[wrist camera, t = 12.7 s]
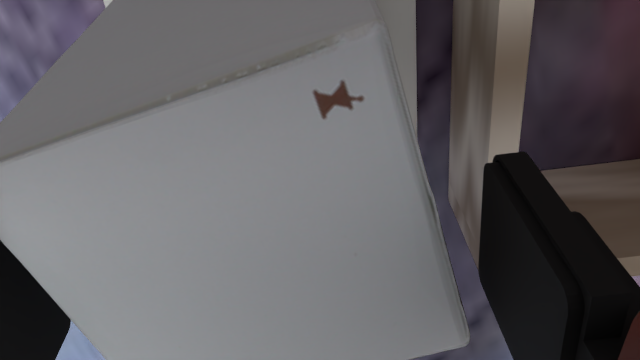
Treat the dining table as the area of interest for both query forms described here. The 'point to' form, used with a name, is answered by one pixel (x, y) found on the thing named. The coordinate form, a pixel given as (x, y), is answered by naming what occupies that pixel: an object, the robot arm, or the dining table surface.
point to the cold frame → (505, 127)
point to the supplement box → (231, 187)
